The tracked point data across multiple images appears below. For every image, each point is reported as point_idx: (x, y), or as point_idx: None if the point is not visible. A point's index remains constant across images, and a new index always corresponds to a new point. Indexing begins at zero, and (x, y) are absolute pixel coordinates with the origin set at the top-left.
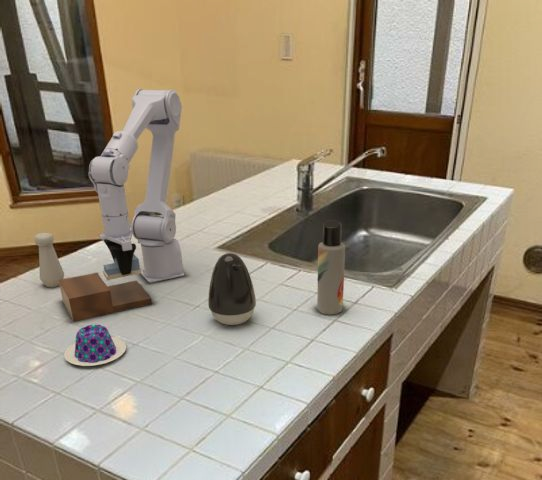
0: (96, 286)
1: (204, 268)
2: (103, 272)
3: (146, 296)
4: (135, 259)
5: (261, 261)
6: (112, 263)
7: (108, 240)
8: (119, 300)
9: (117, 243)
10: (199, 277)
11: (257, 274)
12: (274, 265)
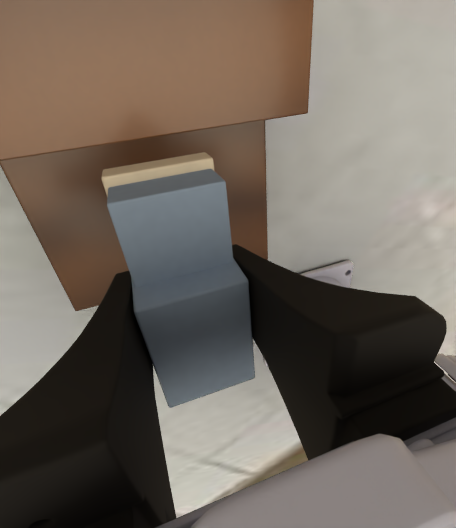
0: (46, 68)
1: None
2: (200, 158)
3: (95, 295)
4: (165, 397)
5: (263, 466)
6: (228, 247)
7: (379, 365)
8: (72, 187)
9: (311, 397)
10: (240, 390)
11: (203, 473)
12: (234, 484)
